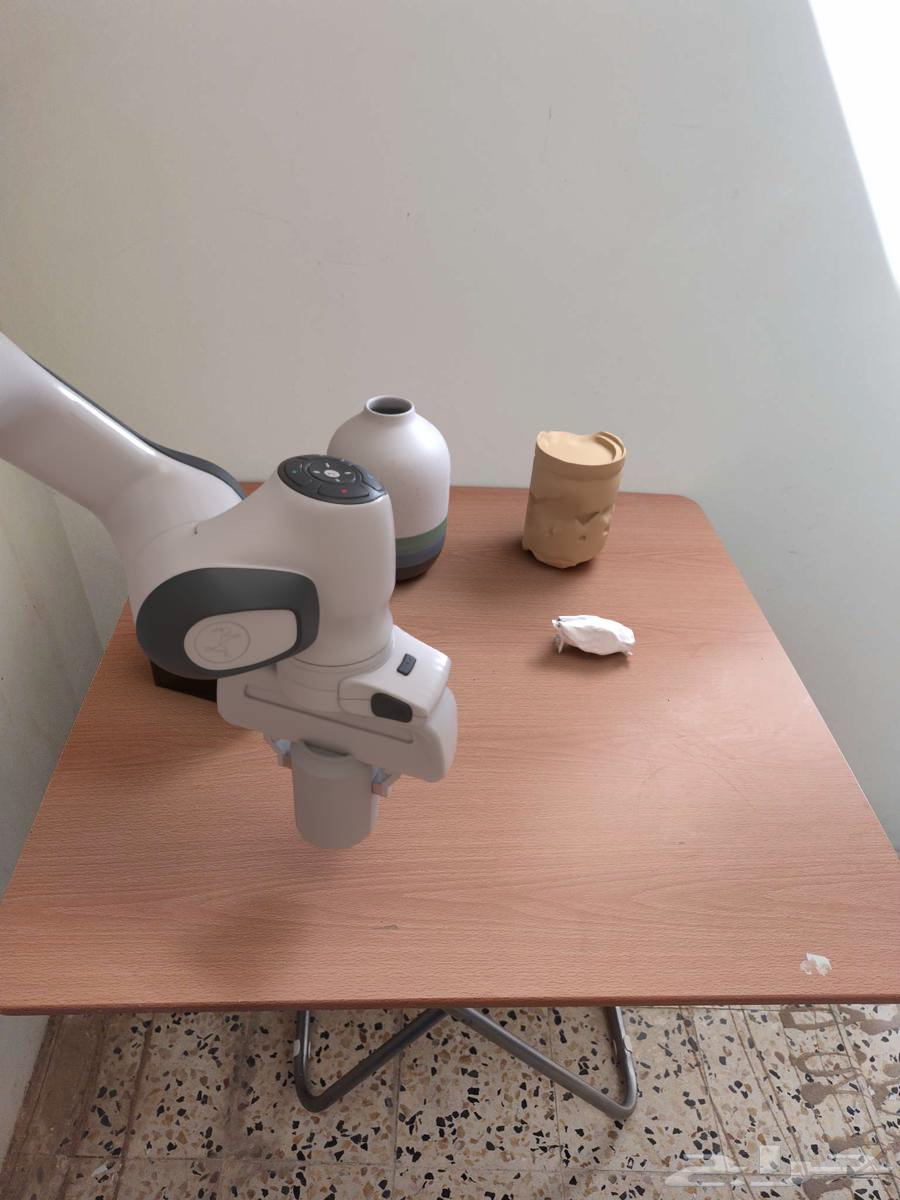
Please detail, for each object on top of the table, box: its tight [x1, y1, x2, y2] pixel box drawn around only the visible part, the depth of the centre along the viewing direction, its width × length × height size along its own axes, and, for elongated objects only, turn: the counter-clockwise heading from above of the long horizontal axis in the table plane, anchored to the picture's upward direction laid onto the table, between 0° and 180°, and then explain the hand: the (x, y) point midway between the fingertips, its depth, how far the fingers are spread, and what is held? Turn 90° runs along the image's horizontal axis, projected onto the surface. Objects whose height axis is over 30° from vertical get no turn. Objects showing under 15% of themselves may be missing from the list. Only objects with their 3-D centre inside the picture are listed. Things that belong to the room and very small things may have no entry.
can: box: [290, 739, 380, 851], centre depth 70 cm, size 8×8×12 cm
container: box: [521, 429, 627, 569], centre depth 117 cm, size 13×13×18 cm
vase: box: [325, 394, 452, 582], centre depth 110 cm, size 17×17×24 cm
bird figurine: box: [551, 614, 636, 657], centre depth 103 cm, size 5×7×10 cm
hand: (336, 776), depth 70 cm, fingers closed on can, 7 cm apart
